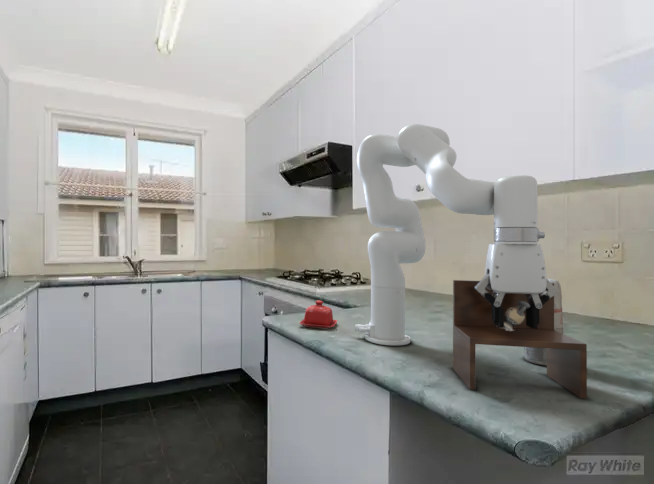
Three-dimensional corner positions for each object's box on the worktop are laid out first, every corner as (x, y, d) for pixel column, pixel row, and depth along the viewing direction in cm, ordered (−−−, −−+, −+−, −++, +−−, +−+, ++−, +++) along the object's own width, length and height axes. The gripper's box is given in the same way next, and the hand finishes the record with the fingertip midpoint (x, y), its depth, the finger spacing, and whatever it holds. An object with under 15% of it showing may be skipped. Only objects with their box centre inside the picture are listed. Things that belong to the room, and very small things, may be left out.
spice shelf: (469, 389, 72) (470, 286, 72) (452, 368, 84) (453, 279, 84) (587, 398, 68) (586, 289, 69) (551, 375, 80) (551, 282, 81)
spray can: (546, 369, 84) (546, 280, 85) (514, 358, 92) (514, 277, 93) (574, 366, 87) (573, 280, 87) (540, 355, 95) (540, 276, 95)
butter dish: (338, 323, 129) (338, 298, 129) (333, 331, 118) (333, 304, 118) (306, 320, 133) (306, 297, 133) (298, 328, 122) (298, 301, 122)
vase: (524, 328, 77) (524, 299, 77) (537, 334, 72) (537, 303, 72) (495, 326, 78) (495, 298, 78) (507, 333, 73) (507, 302, 73)
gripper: (552, 237, 78) (552, 324, 78) (464, 237, 81) (463, 320, 81) (573, 237, 71) (573, 333, 70) (475, 236, 74) (475, 328, 73)
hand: (514, 325), depth 75 cm, fingers closed on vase, 5 cm apart
